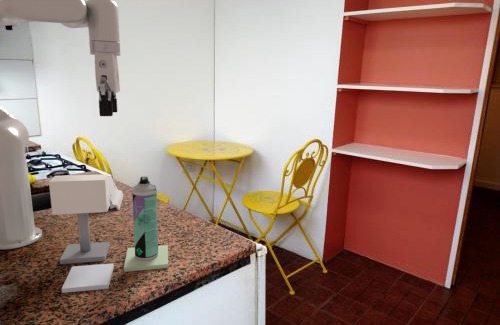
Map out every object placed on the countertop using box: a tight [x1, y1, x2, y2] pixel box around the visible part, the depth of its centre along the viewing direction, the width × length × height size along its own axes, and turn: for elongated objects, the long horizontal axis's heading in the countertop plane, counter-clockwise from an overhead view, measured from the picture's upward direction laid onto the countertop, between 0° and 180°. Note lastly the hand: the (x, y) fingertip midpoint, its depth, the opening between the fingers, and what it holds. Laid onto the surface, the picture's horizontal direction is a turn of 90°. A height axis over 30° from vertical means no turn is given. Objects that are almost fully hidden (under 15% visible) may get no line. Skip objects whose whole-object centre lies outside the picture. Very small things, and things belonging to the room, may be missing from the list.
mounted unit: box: [48, 173, 110, 265], centre depth 89 cm, size 12×8×20 cm, turn 103°
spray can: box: [131, 176, 159, 261], centre depth 88 cm, size 6×6×20 cm
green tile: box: [123, 244, 169, 273], centre depth 90 cm, size 10×10×1 cm
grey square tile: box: [61, 262, 115, 294], centre depth 81 cm, size 9×9×1 cm
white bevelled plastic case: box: [108, 175, 124, 211], centre depth 127 cm, size 17×5×10 cm, turn 14°
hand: (109, 114), depth 101 cm, fingers open, 9 cm apart
